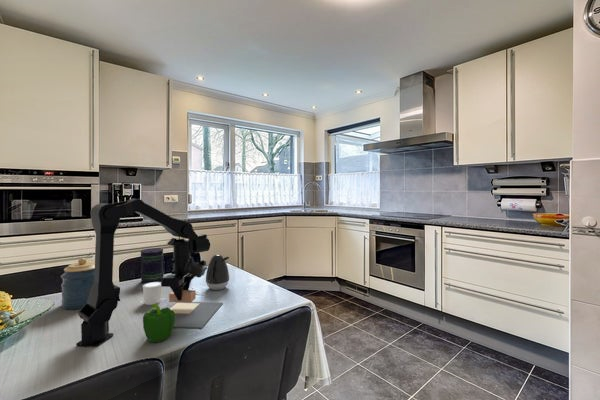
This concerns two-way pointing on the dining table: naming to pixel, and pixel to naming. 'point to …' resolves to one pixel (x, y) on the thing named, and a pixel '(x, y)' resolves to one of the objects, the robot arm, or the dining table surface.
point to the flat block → (183, 296)
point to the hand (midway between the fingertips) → (182, 298)
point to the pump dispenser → (217, 273)
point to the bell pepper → (158, 323)
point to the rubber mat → (193, 313)
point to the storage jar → (152, 265)
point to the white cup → (152, 293)
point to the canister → (77, 284)
